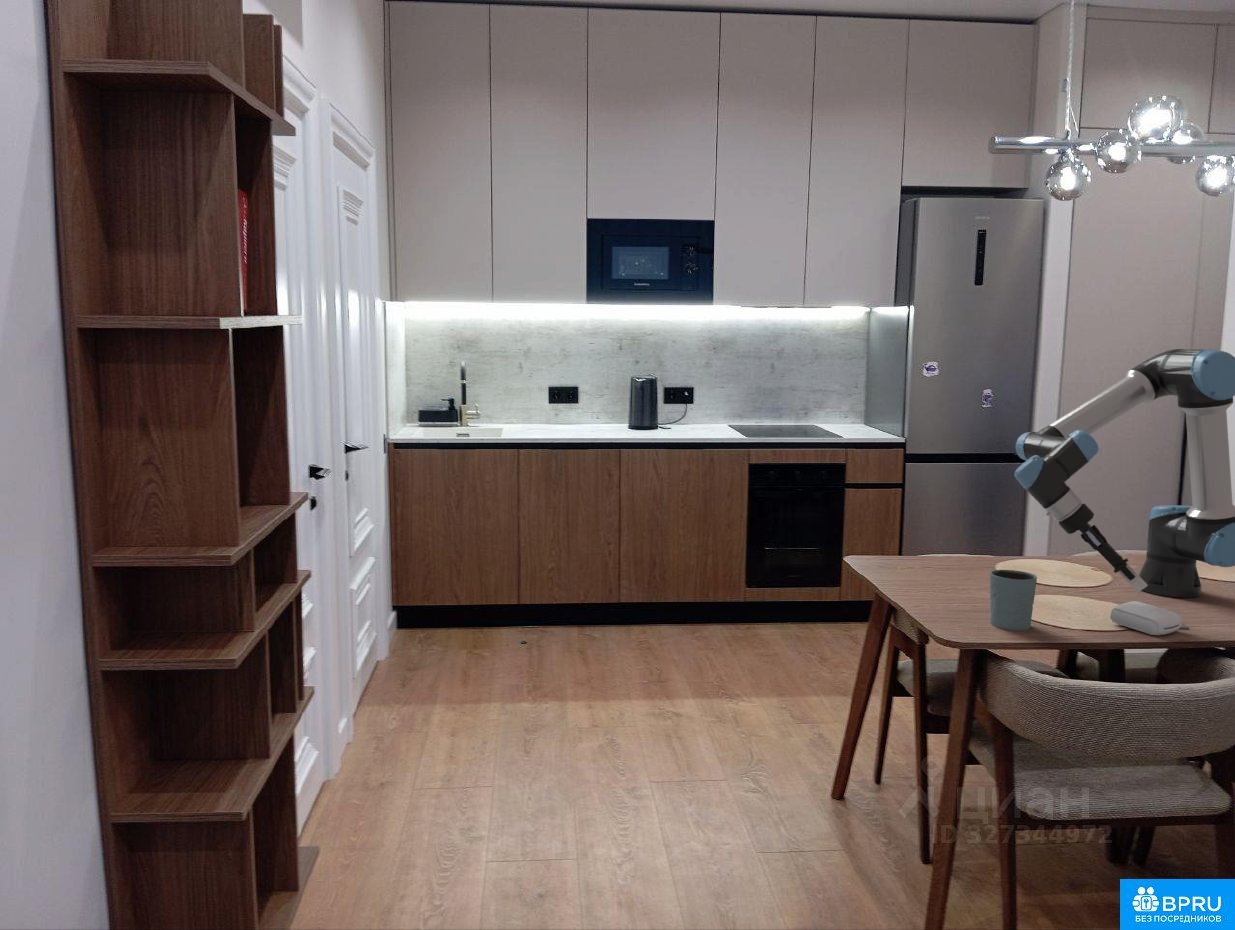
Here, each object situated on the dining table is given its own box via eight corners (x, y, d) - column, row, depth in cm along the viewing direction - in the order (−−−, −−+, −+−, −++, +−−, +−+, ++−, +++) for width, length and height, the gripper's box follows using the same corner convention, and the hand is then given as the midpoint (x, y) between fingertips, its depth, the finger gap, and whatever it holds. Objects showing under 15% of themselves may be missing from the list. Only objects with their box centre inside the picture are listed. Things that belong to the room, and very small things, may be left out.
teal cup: (1009, 633, 219) (1013, 581, 218) (976, 620, 229) (980, 570, 227) (1043, 628, 223) (1047, 577, 222) (1009, 616, 233) (1013, 567, 231)
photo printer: (1136, 598, 232) (1188, 614, 222) (1134, 615, 233) (1186, 632, 223) (1110, 605, 227) (1163, 622, 217) (1108, 623, 228) (1160, 640, 217)
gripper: (1055, 517, 240) (1125, 591, 236) (1058, 527, 228) (1132, 605, 224) (1081, 498, 237) (1152, 572, 234) (1085, 506, 225) (1160, 584, 222)
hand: (1142, 588), depth 229 cm, fingers closed
